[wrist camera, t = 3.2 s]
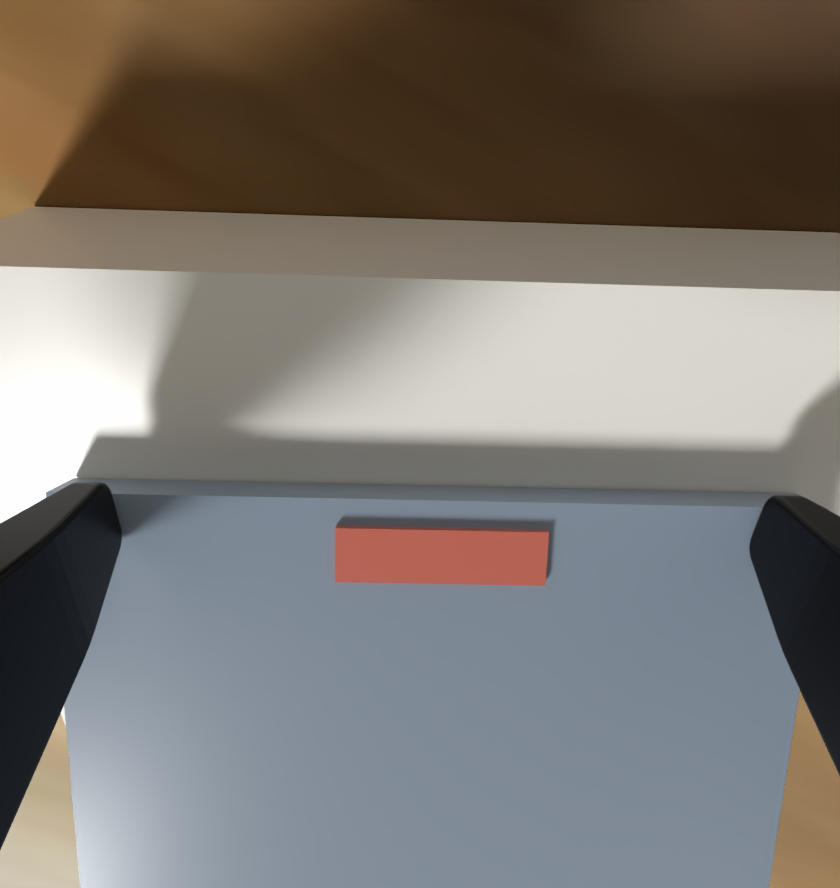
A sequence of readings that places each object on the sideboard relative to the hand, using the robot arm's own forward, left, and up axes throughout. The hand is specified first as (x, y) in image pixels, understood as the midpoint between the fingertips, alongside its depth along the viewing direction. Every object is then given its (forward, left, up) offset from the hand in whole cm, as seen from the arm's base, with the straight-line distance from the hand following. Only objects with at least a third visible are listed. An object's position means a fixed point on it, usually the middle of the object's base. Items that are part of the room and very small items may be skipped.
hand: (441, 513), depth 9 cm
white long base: (0, +9, -5) cm, 10 cm away
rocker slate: (0, +4, 0) cm, 4 cm away
